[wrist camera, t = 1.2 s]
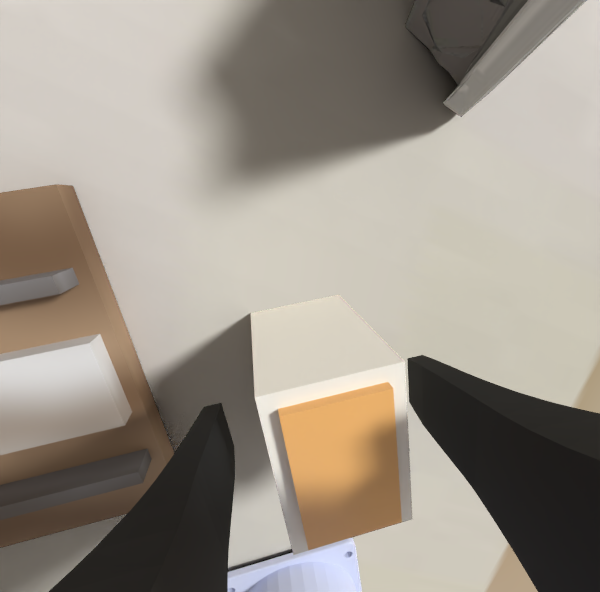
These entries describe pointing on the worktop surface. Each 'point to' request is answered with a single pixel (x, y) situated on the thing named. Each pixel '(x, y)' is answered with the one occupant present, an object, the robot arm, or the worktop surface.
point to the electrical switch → (484, 39)
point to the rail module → (331, 421)
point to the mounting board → (66, 377)
